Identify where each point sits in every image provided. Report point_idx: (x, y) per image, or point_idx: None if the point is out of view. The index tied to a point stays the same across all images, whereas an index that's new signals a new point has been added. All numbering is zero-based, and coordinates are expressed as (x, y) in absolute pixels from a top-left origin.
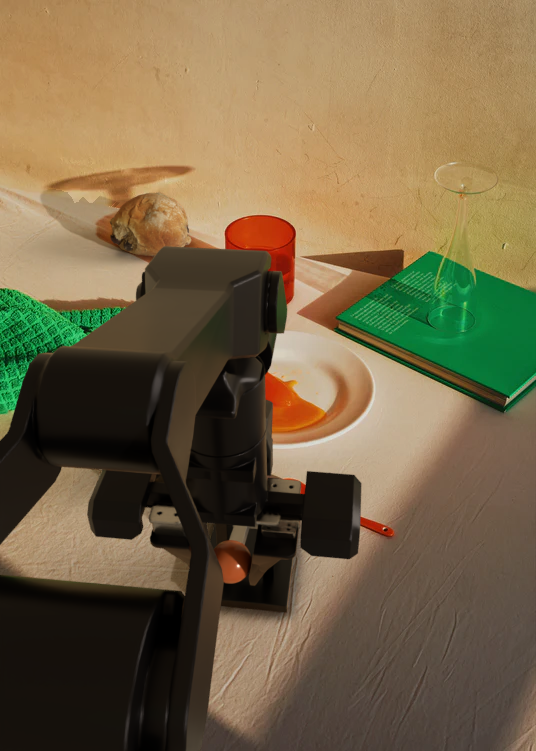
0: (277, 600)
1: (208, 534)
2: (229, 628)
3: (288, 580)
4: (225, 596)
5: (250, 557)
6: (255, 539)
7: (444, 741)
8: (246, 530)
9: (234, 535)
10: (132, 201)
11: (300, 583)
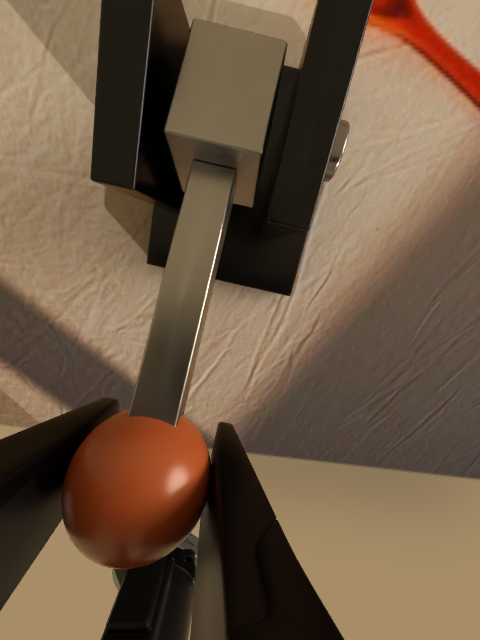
0: (276, 284)
1: (2, 488)
2: None
3: (301, 245)
4: None
5: (203, 502)
6: (215, 557)
7: (432, 471)
8: (207, 296)
9: (160, 342)
10: None
11: (319, 238)
